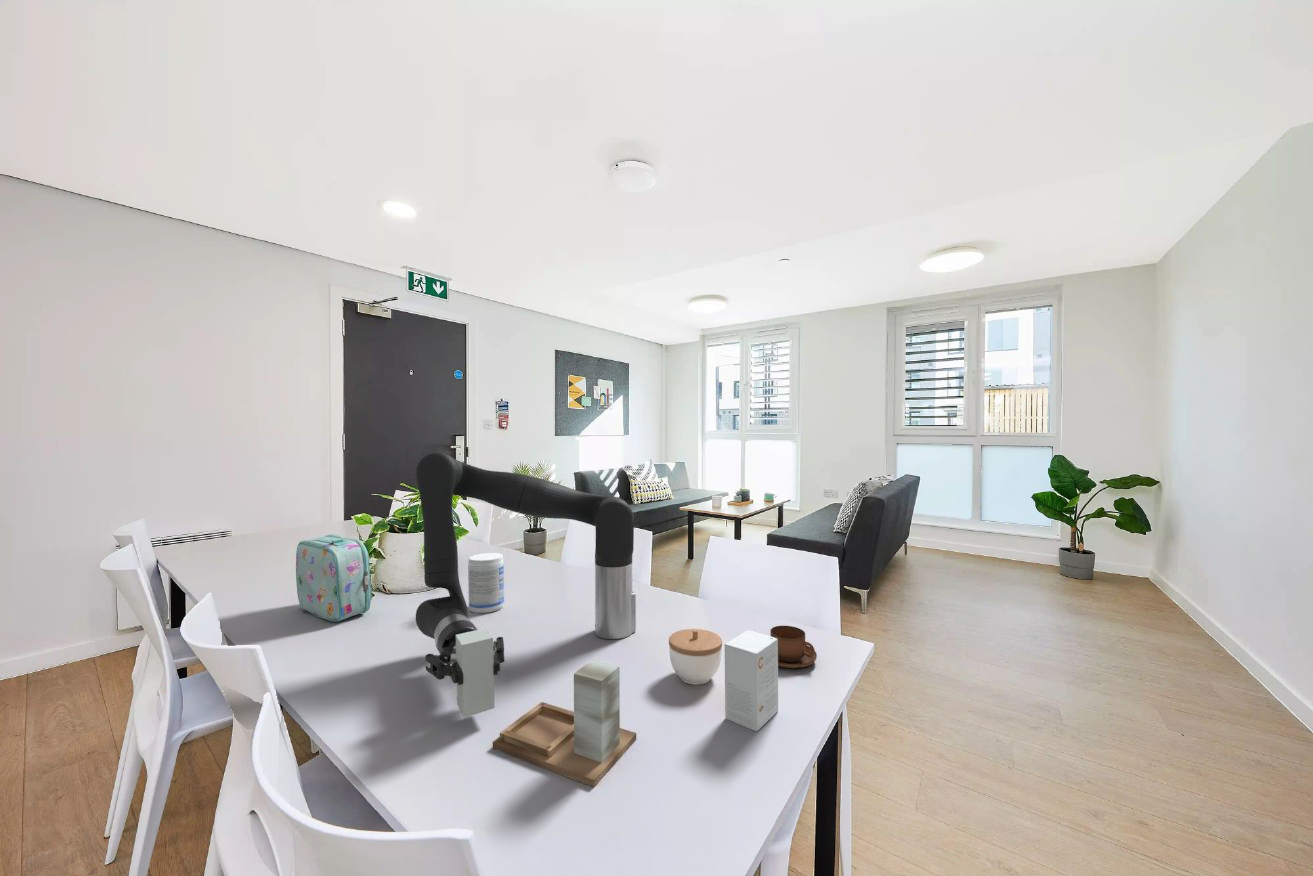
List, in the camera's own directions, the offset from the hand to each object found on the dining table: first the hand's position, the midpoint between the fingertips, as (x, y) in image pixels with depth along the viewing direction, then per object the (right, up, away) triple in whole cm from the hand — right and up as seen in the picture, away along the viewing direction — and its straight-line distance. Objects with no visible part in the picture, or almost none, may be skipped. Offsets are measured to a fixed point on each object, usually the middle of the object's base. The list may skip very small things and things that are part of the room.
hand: (478, 674), depth 82 cm
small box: (+46, -9, +4) cm, 47 cm away
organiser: (+16, -9, -4) cm, 19 cm away
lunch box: (-60, -9, +54) cm, 81 cm away
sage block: (-1, -7, +2) cm, 7 cm away
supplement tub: (-19, -9, +57) cm, 61 cm away
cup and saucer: (+58, -9, +25) cm, 64 cm away
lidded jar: (+37, -9, +17) cm, 42 cm away
